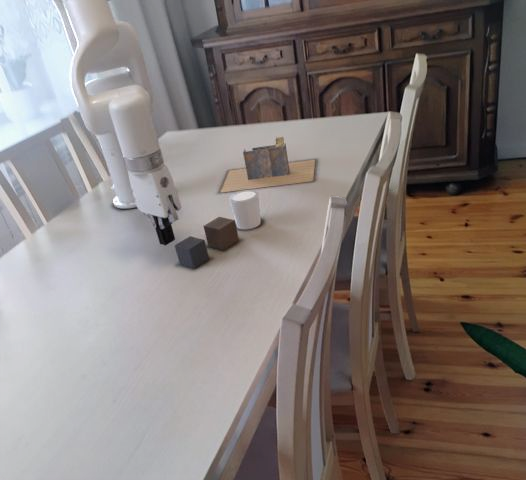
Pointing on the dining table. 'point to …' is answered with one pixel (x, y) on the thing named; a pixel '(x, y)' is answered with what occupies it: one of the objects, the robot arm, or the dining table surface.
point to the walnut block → (221, 233)
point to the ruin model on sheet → (268, 169)
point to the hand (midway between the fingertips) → (167, 241)
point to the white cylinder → (246, 209)
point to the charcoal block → (192, 252)
